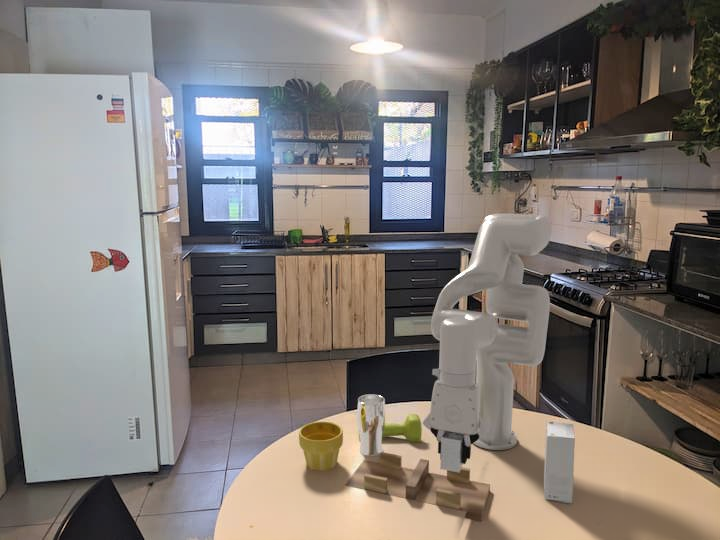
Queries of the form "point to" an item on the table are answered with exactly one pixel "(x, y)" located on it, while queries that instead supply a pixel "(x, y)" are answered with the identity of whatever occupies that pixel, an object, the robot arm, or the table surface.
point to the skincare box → (559, 462)
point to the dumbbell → (405, 429)
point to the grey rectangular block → (451, 451)
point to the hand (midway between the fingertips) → (454, 458)
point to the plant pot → (321, 444)
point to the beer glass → (371, 423)
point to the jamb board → (422, 484)
